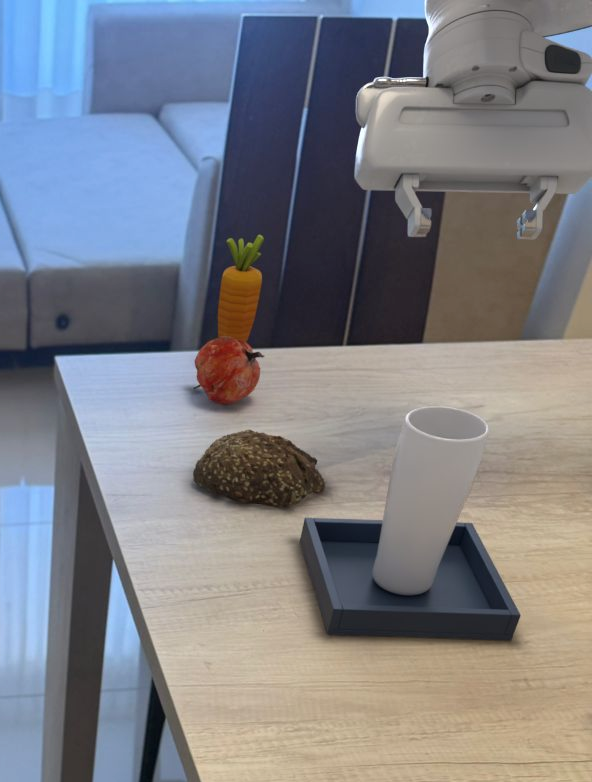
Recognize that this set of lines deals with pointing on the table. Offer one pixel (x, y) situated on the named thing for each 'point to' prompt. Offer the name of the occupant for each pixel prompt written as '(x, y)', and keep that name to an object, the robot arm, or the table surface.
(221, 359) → the pomegranate
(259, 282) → the carrot
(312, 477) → the bread roll
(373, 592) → the dark blue-gray tray
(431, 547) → the white cup
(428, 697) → the table surface
